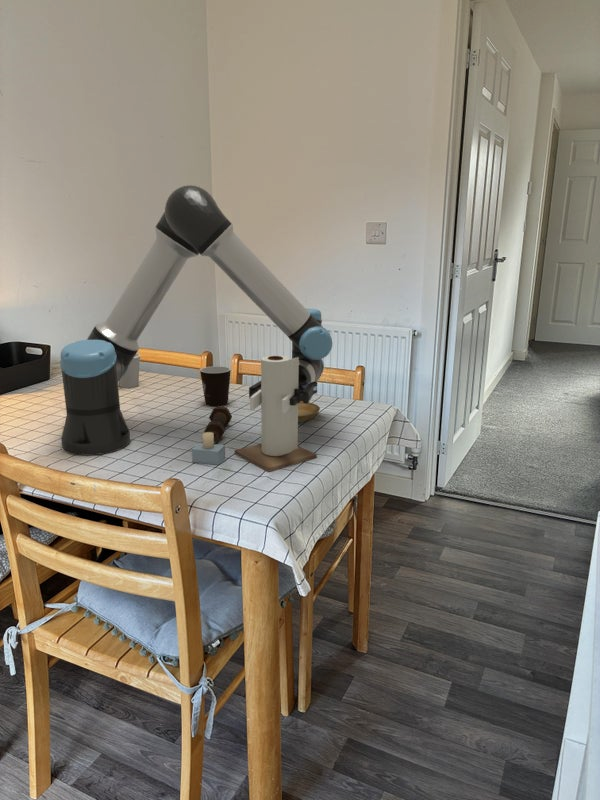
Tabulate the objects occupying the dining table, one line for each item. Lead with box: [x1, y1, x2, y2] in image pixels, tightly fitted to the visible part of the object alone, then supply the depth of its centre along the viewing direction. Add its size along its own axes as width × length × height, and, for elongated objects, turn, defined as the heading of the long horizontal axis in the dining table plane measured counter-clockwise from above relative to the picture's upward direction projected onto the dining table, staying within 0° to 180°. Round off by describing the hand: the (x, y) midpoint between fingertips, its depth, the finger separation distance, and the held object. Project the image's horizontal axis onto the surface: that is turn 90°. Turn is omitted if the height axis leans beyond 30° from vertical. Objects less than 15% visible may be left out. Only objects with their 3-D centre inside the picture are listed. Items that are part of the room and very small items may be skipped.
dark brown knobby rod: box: [203, 406, 233, 444], centre depth 143 cm, size 6×5×15 cm
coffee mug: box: [199, 365, 232, 408], centre depth 169 cm, size 12×9×10 cm
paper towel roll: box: [260, 355, 299, 456], centre depth 126 cm, size 7×6×21 cm
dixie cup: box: [118, 352, 141, 389], centre depth 186 cm, size 8×8×10 cm
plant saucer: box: [298, 401, 321, 423], centre depth 157 cm, size 15×15×3 cm
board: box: [234, 442, 318, 473], centre depth 130 cm, size 13×13×1 cm
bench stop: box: [191, 432, 226, 466], centre depth 126 cm, size 4×6×6 cm, turn 75°
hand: (267, 404), depth 121 cm, fingers open, 6 cm apart
